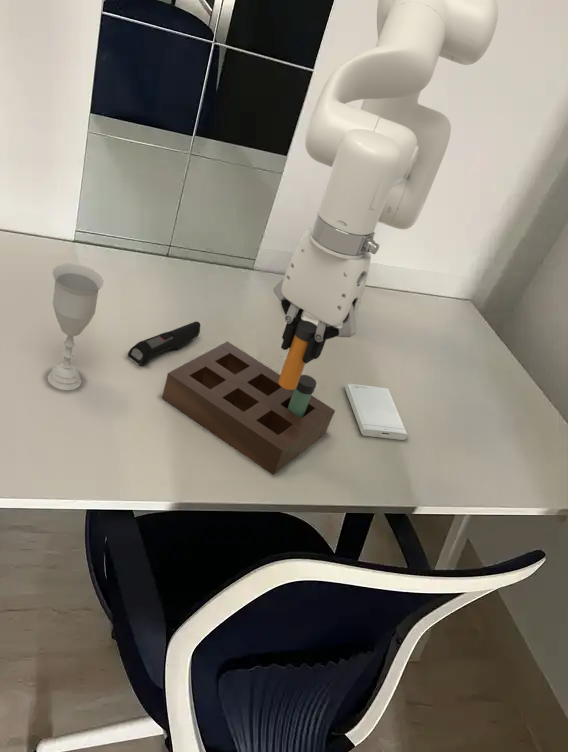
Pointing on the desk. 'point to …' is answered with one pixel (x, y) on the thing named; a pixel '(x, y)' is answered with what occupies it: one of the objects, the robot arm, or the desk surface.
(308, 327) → the amber tube
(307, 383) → the sage tube
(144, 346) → the electric trimmer
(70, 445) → the desk surface
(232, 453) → the desk surface
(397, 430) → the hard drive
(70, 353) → the chalice
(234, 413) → the rack
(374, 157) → the robot arm
